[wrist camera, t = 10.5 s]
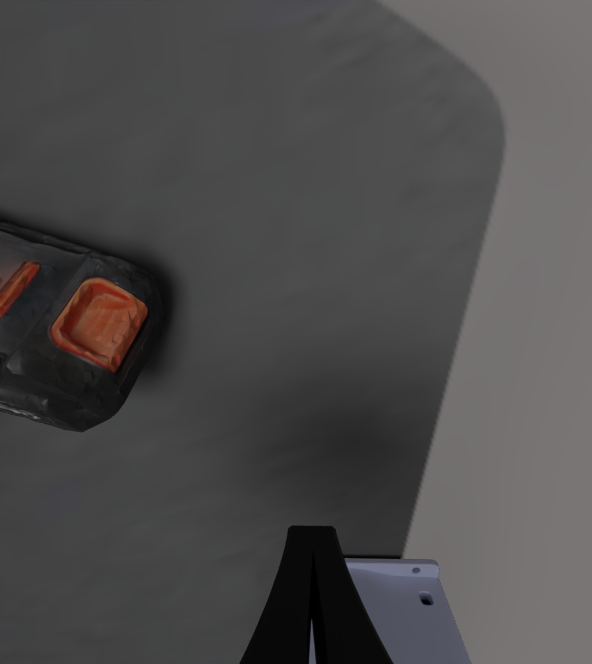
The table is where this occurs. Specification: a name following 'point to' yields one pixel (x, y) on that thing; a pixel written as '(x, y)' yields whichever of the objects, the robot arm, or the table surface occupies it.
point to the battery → (71, 329)
